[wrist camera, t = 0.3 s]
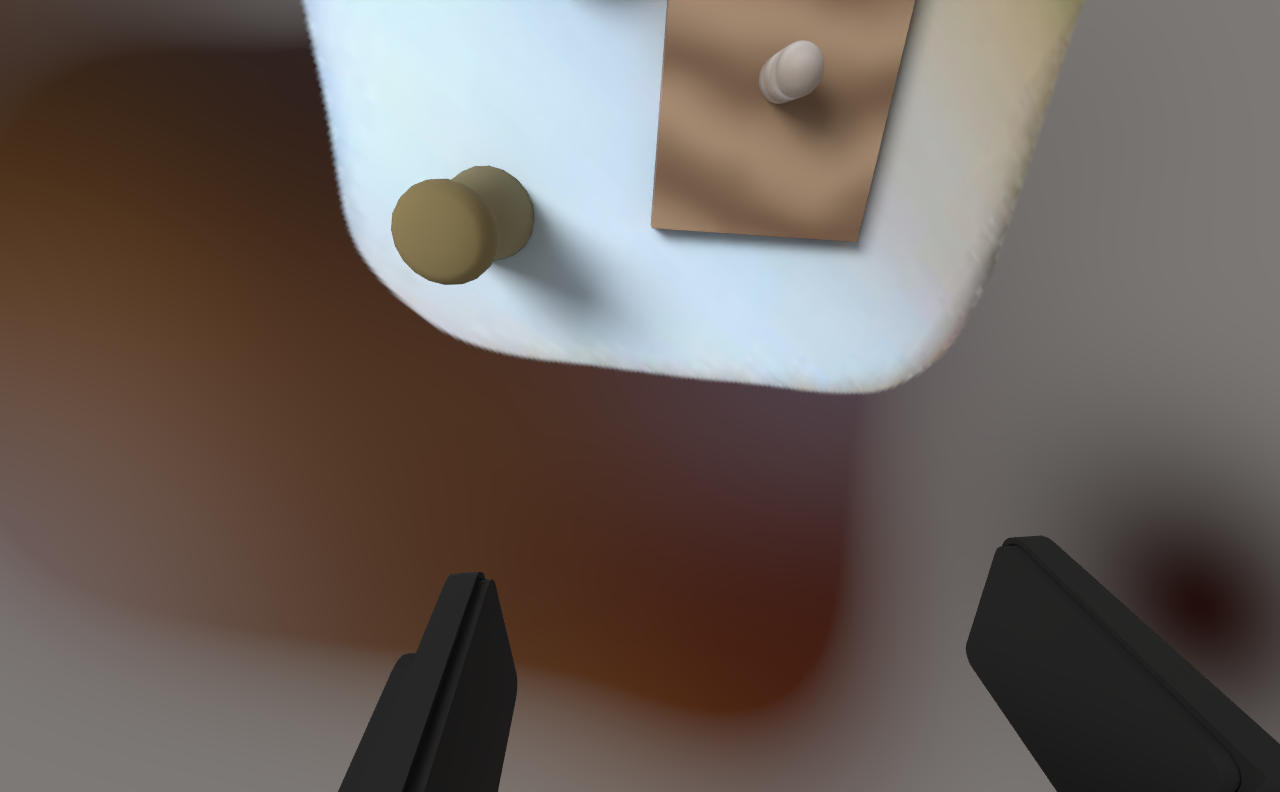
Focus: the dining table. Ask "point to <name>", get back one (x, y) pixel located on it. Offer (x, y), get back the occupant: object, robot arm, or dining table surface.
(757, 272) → the dining table surface
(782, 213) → the board
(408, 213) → the cork
